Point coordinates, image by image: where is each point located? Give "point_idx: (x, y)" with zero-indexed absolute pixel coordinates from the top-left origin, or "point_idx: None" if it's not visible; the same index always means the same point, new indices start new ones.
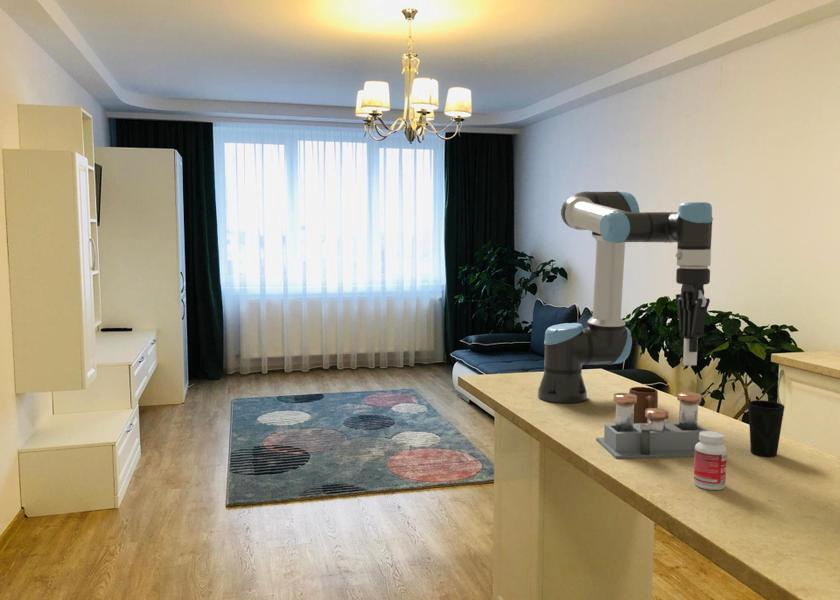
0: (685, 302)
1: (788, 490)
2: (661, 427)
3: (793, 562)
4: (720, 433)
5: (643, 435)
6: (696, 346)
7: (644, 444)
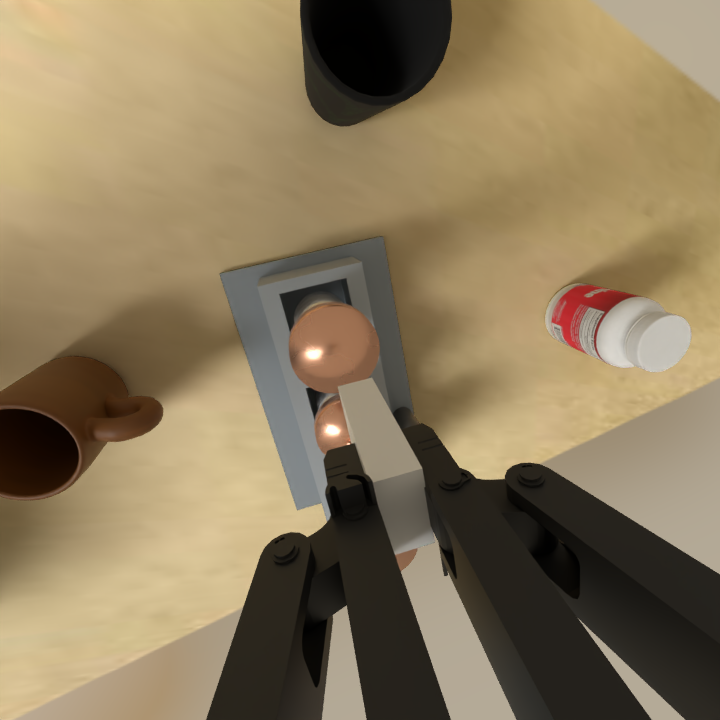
0: None
1: (606, 143)
2: None
3: None
4: (662, 319)
5: None
6: (442, 446)
7: None
